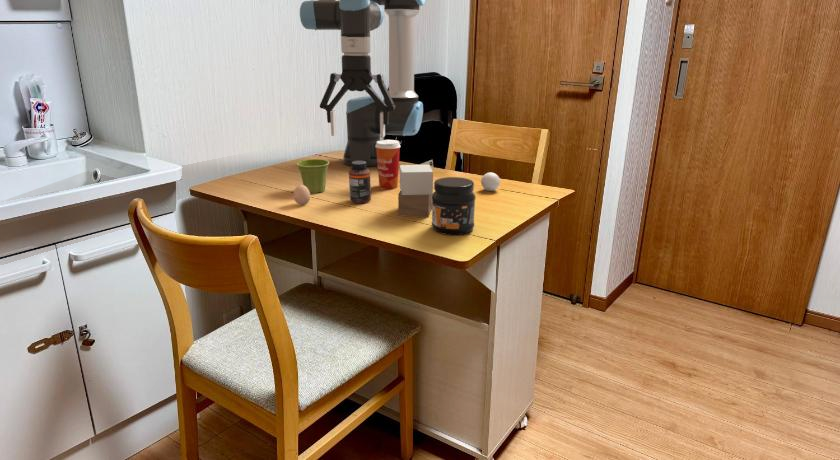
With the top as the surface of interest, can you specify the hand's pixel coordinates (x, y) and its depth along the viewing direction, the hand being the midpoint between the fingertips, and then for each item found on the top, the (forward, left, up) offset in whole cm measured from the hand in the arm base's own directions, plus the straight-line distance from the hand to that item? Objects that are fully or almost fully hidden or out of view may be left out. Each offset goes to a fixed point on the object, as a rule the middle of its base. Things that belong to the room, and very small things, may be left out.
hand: (358, 135), depth 157 cm
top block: (+7, +17, -13) cm, 22 cm away
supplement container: (+19, +28, -19) cm, 39 cm away
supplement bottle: (0, 0, -19) cm, 19 cm away
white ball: (-16, +36, -19) cm, 44 cm away
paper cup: (-16, +5, -19) cm, 25 cm away
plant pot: (-8, -16, -19) cm, 26 cm away
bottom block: (+7, +17, -19) cm, 26 cm away
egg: (+6, -15, -19) cm, 25 cm away
